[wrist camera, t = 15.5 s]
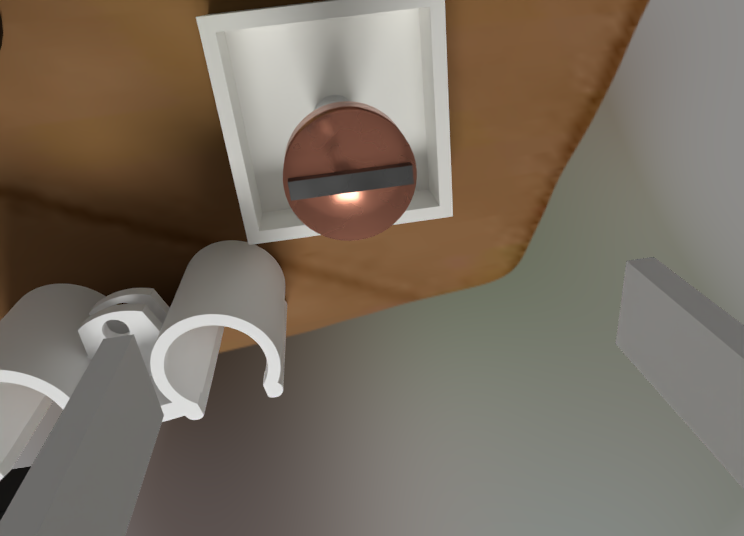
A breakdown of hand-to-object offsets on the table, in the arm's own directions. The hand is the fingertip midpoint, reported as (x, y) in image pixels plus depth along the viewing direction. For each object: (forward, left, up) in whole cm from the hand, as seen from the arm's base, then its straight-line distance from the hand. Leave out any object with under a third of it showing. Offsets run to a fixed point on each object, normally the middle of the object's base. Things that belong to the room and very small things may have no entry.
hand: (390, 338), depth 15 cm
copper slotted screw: (0, 0, -31) cm, 31 cm away
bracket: (+15, -19, -32) cm, 40 cm away
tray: (0, 0, -32) cm, 32 cm away
